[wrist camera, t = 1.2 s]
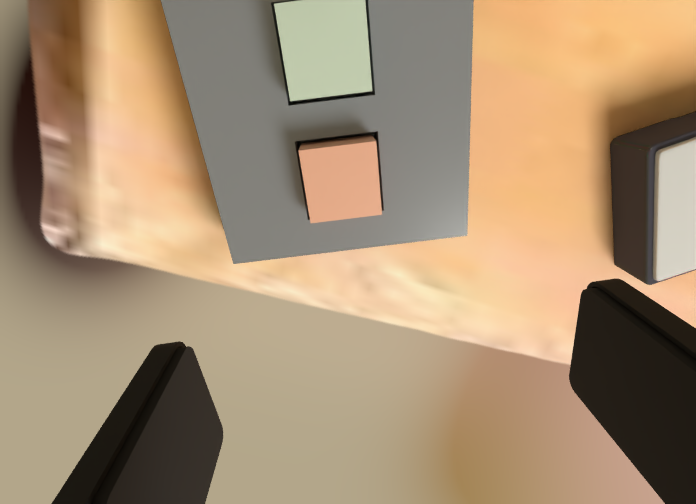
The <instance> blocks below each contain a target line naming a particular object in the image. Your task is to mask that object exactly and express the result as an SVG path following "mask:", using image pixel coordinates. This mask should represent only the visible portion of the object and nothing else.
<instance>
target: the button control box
mask: <svg viewBox="0 0 696 504" xmlns="http://www.w3.org/2000/svg"><path fill="white" fill-rule="evenodd" d="M610 154H611V183H612V212H613V241H614V264H615V265H616V266H617V267H619V268H621V269H622V270H624V271H626V272H627V273H629V274H631V275H632V276H634V277H636V278H637V279H639V280H641V281H642V282H644V283H646V284H648V285H652V284H655V283H658V282H661V281H664V280H667V279H670V278H673V277H676V276H679V275H682V274H685V273H688V272H691V271H694V270H696V112H693V113H690V114H688V115H685V116H682V117H678V118H672V119H669V120H666V121H663V122H660V123H657V124H654V125H651V126H648V127H645V128H642V129H639V130H636V131H633V132H630V133H627V134H624V135H621V136H618V137H616V138H614V139H613V140H612V142H611V144H610Z"/></svg>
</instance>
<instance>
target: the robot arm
mask: <svg viewBox="0 0 696 504" xmlns="http://www.w3.org/2000/svg"><path fill="white" fill-rule="evenodd" d="M569 380H570V384H571V386H572V389H573V390H574V392H575V393H576V394H577V395H578V397H579V398H580V399H581V400H582V402H583V403H584V404H585V405H586V407H587V408H588V409H589V410H590V412H591V413H592V414H593V415H594V416H595V418H596V419H597V420H598V421H599V423H600V424H601V425H602V426H603V428H604V429H605V430H606V431H607V433H608V434H609V435H610V436H611V437H612V439H613V440H614V441H615V442H616V444H617V445H618V446H619V447H620V449H621V450H622V451H623V452H624V453H625V455H626V456H627V457H628V458H629V460H631V462H632V463H633V465H634V466H635V467H636V468H637V470H638V471H639V472H640V473H641V474H642V476H643V477H644V478H645V479H646V481H647V482H648V483H649V484H650V485H651V487H652V488H653V489H654V490H655V492H656V493H657V494H658V495H659V497H660V498H661V499H662V500H663V502H664V503H665V504H696V328H694V327H693V326H691V325H690V324H688V323H687V322H685V321H684V320H682V319H680V318H679V317H677V316H676V315H674V314H673V313H671V312H670V311H668V310H667V309H665V308H664V307H662V306H661V305H659V304H658V303H656V302H655V301H653V300H652V299H650V298H649V297H647V296H646V295H644V294H643V293H641V292H640V291H638V290H637V289H635V288H633V287H632V286H630V285H629V284H627V283H626V282H624V281H623V280H620V279H610V280H603V281H596V282H592V283H590V284H589V285H588V286H587V289H585V290H583V291H582V293H581V298H580V305H579V312H578V319H577V326H576V332H575V339H574V346H573V353H572V360H571V367H570V374H569ZM222 441H223V428H222V425H221V422H220V419H219V416H218V414H217V411H216V409H215V406H214V403H213V401H212V398H211V396H210V393H209V390H208V388H207V385H206V382H205V379H204V377H203V374H202V371H201V369H200V366H199V363H198V361H197V358H196V356H195V353H194V351H193V349H192V348H191V347H186V346H185V344H184V343H183V342H174V343H166V344H160V345H156V346H154V347H153V348H152V350H151V351H150V353H149V355H148V356H147V358H146V359H145V361H144V362H143V364H142V365H141V367H140V368H139V370H138V371H137V373H136V374H135V376H134V377H133V379H132V381H131V382H130V384H129V385H128V387H127V388H126V390H125V391H124V393H123V394H122V396H121V397H120V399H119V401H118V402H117V404H116V405H115V407H114V408H113V410H112V411H111V413H110V414H109V416H108V418H107V419H106V421H105V422H104V424H103V425H102V427H101V428H100V430H99V431H98V433H97V434H96V436H95V438H94V439H93V441H92V442H91V444H90V446H89V447H88V448H87V450H86V451H85V453H84V455H83V456H82V458H81V459H80V461H79V462H78V464H77V465H76V467H75V469H74V470H73V472H72V473H71V475H70V476H69V478H68V479H67V481H66V482H65V484H64V485H63V487H62V489H61V490H60V492H59V493H58V495H57V496H56V498H55V499H54V501H53V502H52V504H205V501H206V498H207V494H208V491H209V487H210V483H211V480H212V477H213V473H214V470H215V466H216V462H217V459H218V456H219V452H220V449H221V445H222Z"/></svg>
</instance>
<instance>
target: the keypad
mask: <svg viewBox="0 0 696 504" xmlns="http://www.w3.org/2000/svg"><path fill="white" fill-rule="evenodd" d="M291 1H299V0H161V3H162V7H163V10H164V14H165V17H166V21H167V25H168V28H169V32H170V36H171V39H172V43H173V46H174V50H175V54H176V57H177V61H178V65H179V68H180V72H181V75H182V79H183V83H184V86H185V90H186V94H187V97H188V101H189V104H190V108H191V112H192V115H193V119H194V123H195V126H196V130H197V133H198V137H199V141H200V144H201V148H202V152H203V155H204V159H205V162H206V166H207V170H208V173H209V177H210V181H211V184H212V188H213V191H214V195H215V199H216V202H217V206H218V210H219V213H220V217H221V220H222V224H223V228H224V231H225V235H226V239H227V242H228V246H229V249H230V253H231V257H232V260H233V264H237V263H245V262H254V261H262V260H270V259H278V258H287V257H295V256H303V255H311V254H320V253H328V252H336V251H344V250H352V249H361V248H369V247H377V246H385V245H394V244H402V243H410V242H418V241H427V240H435V239H443V238H451V237H459V236H467V225H468V188H469V150H470V113H471V76H472V39H473V1H474V0H365V2H366V15H367V28H368V41H369V54H370V67H371V80H372V91H369V92H361V93H353V94H345V95H337V96H329V97H321V98H313V99H305V100H297V101H290V97H289V91H288V85H287V79H286V73H285V67H284V61H283V55H282V49H281V43H280V37H279V31H278V25H277V19H276V13H275V7H274V4H276V3H283V2H291ZM364 135H372V136H373V137H374V139H375V140H376V144H377V157H378V169H379V182H380V195H381V208H382V215H376V216H367V217H359V218H351V219H343V220H335V221H326V222H318V223H310V217H309V211H308V205H307V199H306V193H305V187H304V181H303V175H302V169H301V163H300V157H299V148H300V146H301V143H307V142H315V141H324V140H332V139H340V138H348V137H356V136H364Z"/></svg>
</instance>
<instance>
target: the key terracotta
mask: <svg viewBox="0 0 696 504" xmlns="http://www.w3.org/2000/svg"><path fill="white" fill-rule="evenodd" d="M299 157H300V163H301V169H302V175H303V181H304V187H305V193H306V199H307V205H308V211H309V217H310V223H318V222H326V221H335V220H343V219H351V218H359V217H367V216H376V215H382V208H381V195H380V182H379V169H378V157H377V144H376V140H375V139H374V137H373V136H372V135H364V136H356V137H348V138H340V139H332V140H324V141H315V142H307V143H301V146H300V148H299Z"/></svg>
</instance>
